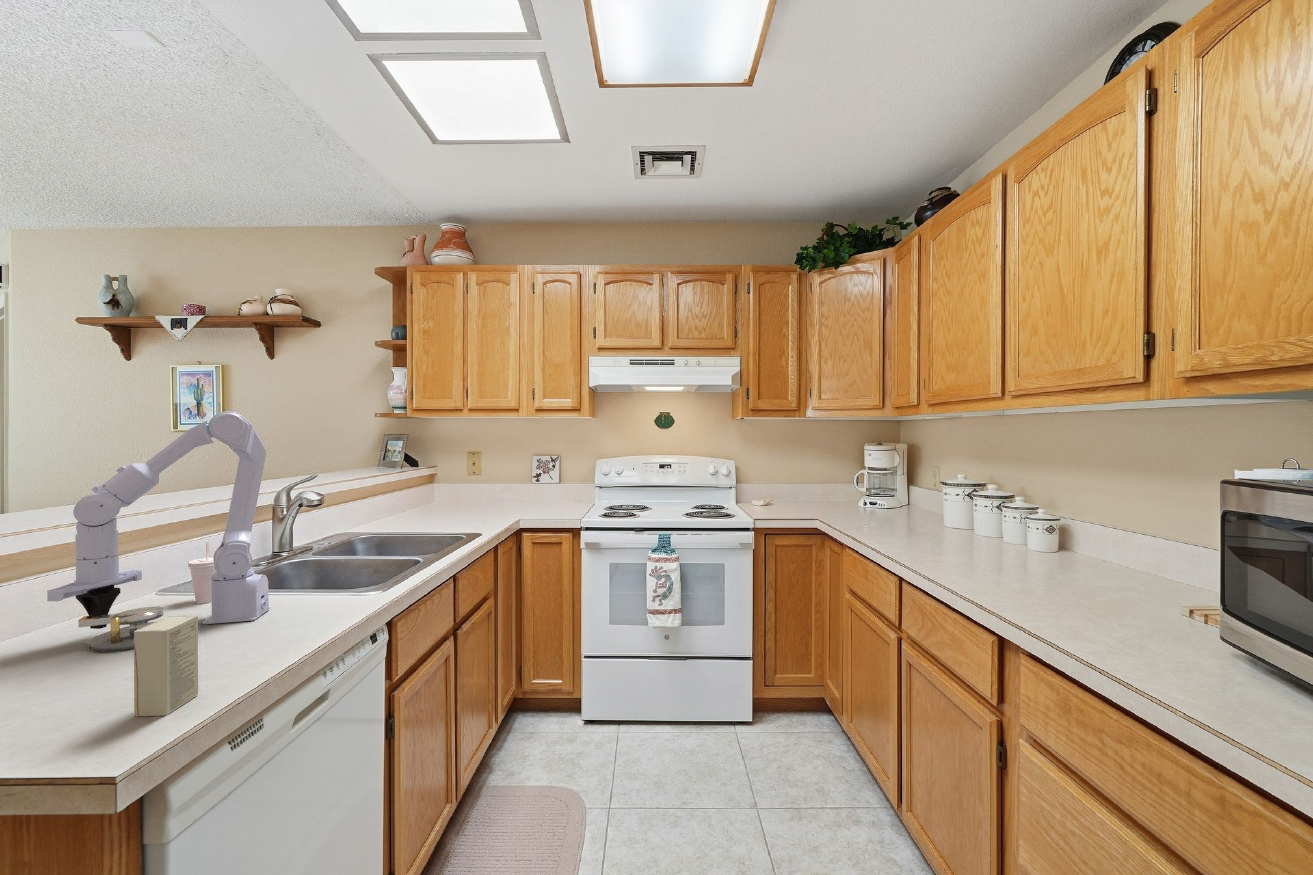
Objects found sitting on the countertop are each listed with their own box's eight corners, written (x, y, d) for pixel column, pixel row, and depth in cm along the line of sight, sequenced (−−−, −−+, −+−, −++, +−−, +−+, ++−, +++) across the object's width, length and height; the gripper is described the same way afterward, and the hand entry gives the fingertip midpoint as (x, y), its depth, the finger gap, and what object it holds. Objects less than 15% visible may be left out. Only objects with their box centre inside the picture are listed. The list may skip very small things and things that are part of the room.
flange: (168, 610, 109) (168, 603, 109) (156, 620, 103) (156, 613, 103) (89, 619, 104) (89, 612, 104) (72, 631, 98) (72, 623, 98)
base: (198, 624, 112) (197, 596, 112) (158, 648, 100) (157, 617, 100) (121, 630, 109) (121, 601, 109) (70, 655, 96) (70, 623, 96)
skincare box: (168, 696, 81) (168, 615, 81) (200, 695, 82) (199, 614, 82) (132, 718, 75) (131, 630, 75) (166, 716, 75) (165, 629, 75)
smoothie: (203, 606, 124) (202, 545, 124) (180, 604, 125) (180, 544, 125) (230, 597, 130) (230, 539, 130) (208, 596, 132) (208, 538, 132)
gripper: (119, 548, 111) (119, 614, 111) (31, 565, 96) (32, 641, 97) (150, 548, 110) (151, 615, 110) (67, 566, 96) (67, 642, 96)
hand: (98, 627), depth 103 cm, fingers closed, pressing on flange
